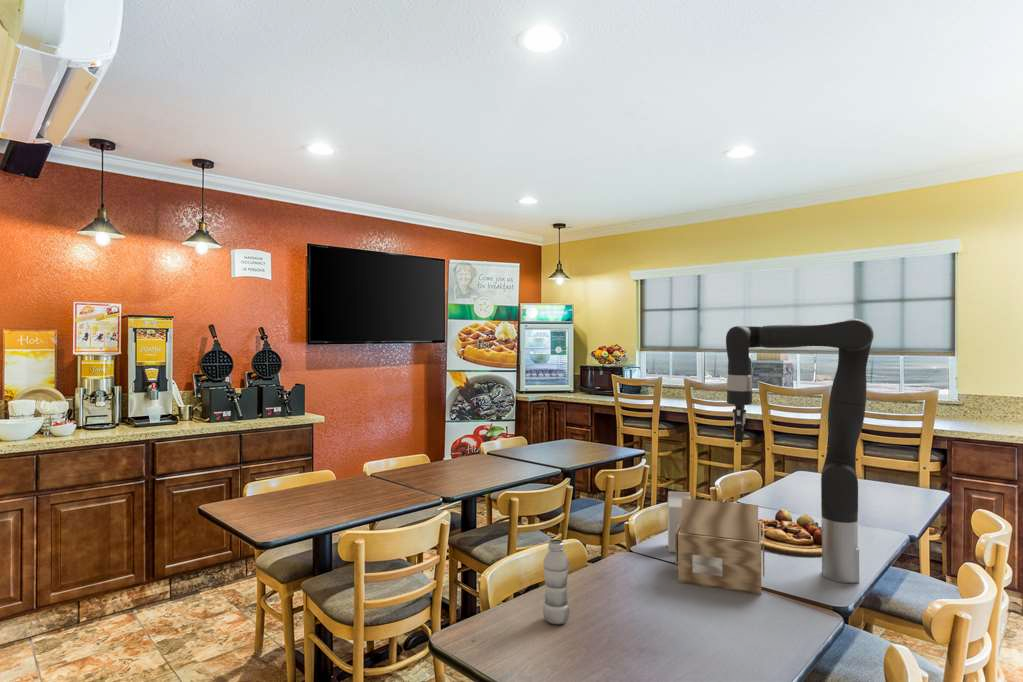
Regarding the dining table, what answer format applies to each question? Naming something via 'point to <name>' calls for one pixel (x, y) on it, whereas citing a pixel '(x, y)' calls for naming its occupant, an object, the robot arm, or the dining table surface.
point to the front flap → (719, 519)
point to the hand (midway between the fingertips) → (739, 439)
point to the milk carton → (674, 515)
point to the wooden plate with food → (792, 535)
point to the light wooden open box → (719, 561)
